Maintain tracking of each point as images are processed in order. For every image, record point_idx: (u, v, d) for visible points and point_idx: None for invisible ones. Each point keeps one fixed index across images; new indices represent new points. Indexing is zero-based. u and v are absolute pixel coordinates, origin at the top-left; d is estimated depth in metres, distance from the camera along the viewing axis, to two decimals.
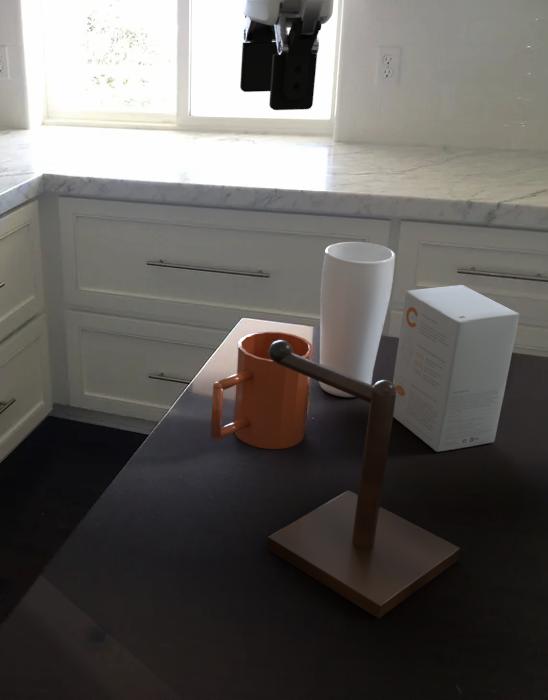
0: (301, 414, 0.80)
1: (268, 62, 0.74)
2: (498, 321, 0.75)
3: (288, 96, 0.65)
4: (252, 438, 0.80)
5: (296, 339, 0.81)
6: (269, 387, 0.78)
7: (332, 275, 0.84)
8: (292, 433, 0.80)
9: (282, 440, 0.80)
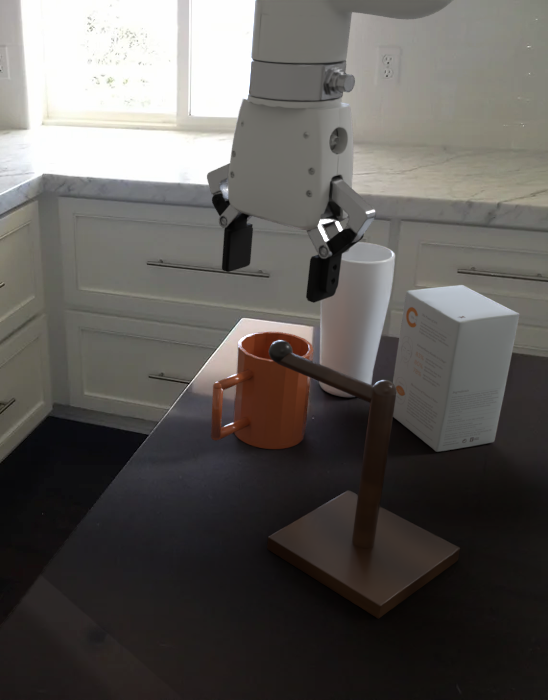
0: (301, 414, 0.80)
1: (245, 243, 0.79)
2: (498, 321, 0.75)
3: (327, 290, 0.72)
4: (252, 438, 0.80)
5: (296, 339, 0.81)
6: (269, 387, 0.78)
7: None
8: (292, 433, 0.80)
9: (282, 440, 0.80)
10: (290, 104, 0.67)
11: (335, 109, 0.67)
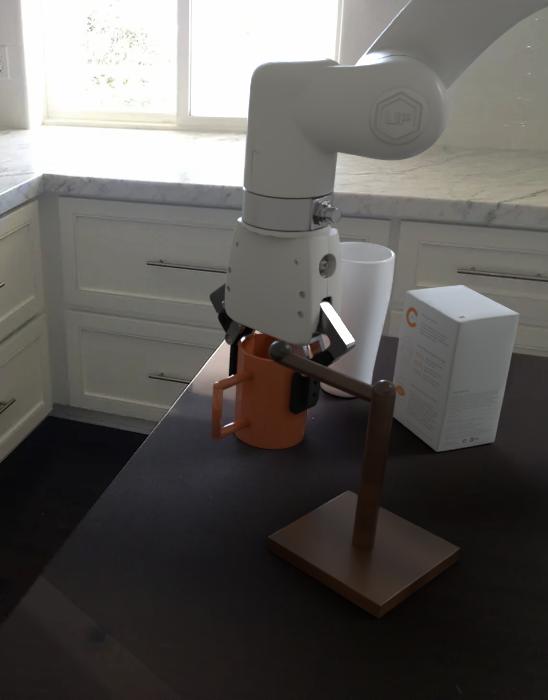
0: (301, 414, 0.80)
1: None
2: (498, 321, 0.75)
3: (309, 404, 0.77)
4: (252, 438, 0.80)
5: None
6: (269, 387, 0.78)
7: None
8: (292, 433, 0.80)
9: (282, 440, 0.80)
10: (281, 234, 0.71)
11: (324, 238, 0.71)
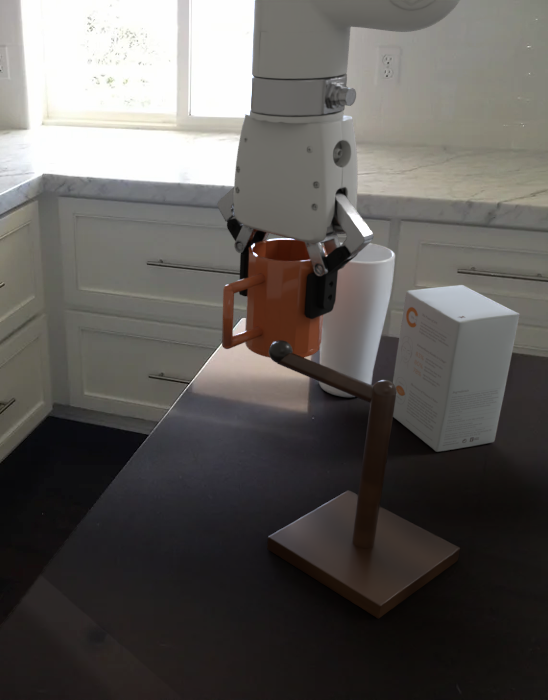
0: (317, 321, 0.76)
1: None
2: (498, 321, 0.75)
3: (325, 307, 0.73)
4: (265, 348, 0.76)
5: None
6: (282, 291, 0.74)
7: None
8: (308, 341, 0.76)
9: (297, 349, 0.76)
10: (292, 119, 0.67)
11: (337, 123, 0.67)
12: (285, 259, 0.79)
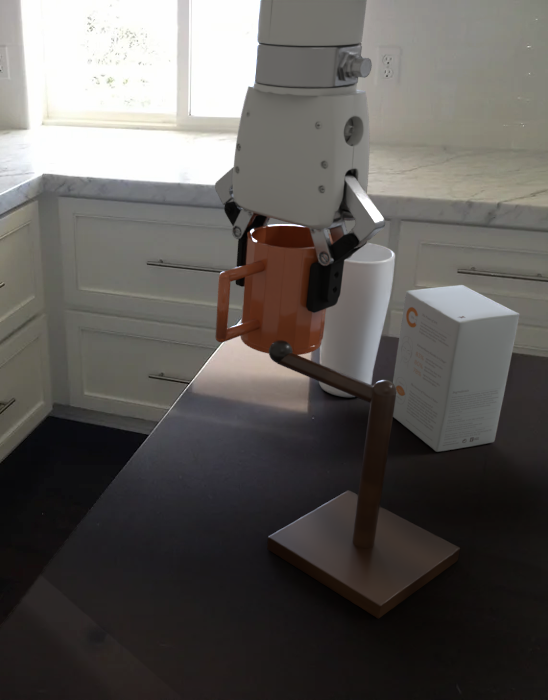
0: (319, 315, 0.69)
1: None
2: (498, 321, 0.75)
3: (329, 300, 0.67)
4: (262, 343, 0.70)
5: None
6: (283, 280, 0.67)
7: None
8: (308, 337, 0.70)
9: (297, 345, 0.70)
10: (300, 91, 0.61)
11: (350, 96, 0.61)
12: (286, 247, 0.73)
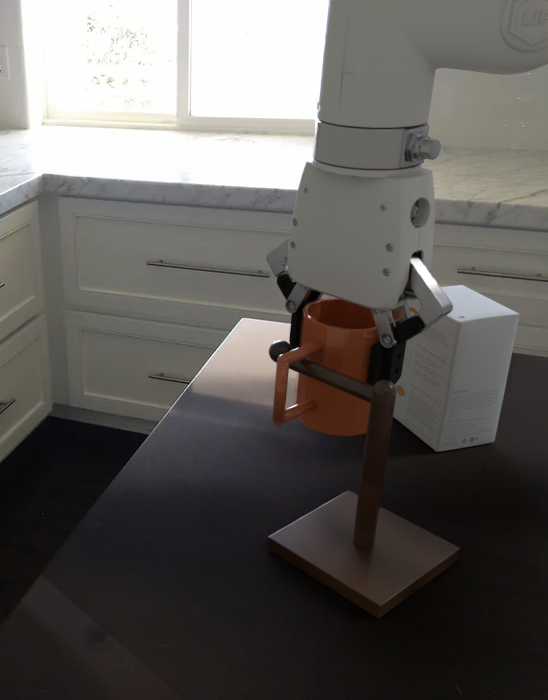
0: None
1: None
2: (498, 321, 0.75)
3: (390, 381, 0.65)
4: (319, 423, 0.68)
5: None
6: (342, 361, 0.65)
7: None
8: (367, 417, 0.67)
9: (355, 425, 0.67)
10: (366, 173, 0.59)
11: (417, 178, 0.59)
12: (341, 321, 0.70)
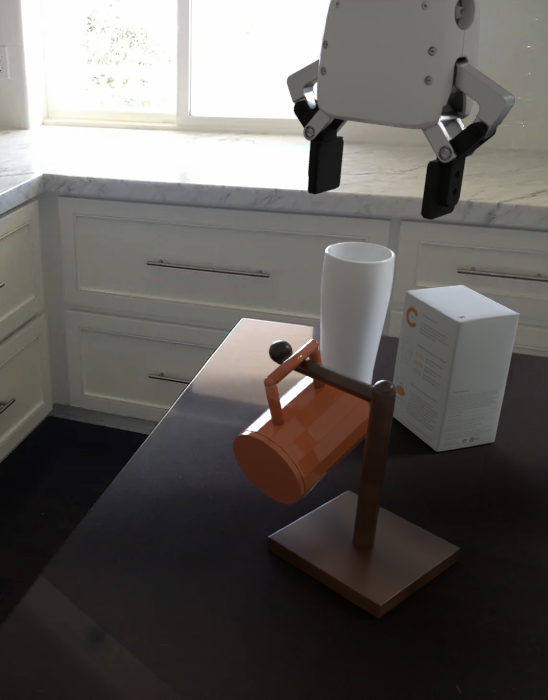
0: (327, 466, 0.66)
1: (334, 159, 0.66)
2: (498, 321, 0.75)
3: (448, 204, 0.59)
4: (274, 438, 0.65)
5: None
6: (334, 405, 0.66)
7: (332, 275, 0.84)
8: (311, 470, 0.65)
9: (301, 464, 0.64)
10: None
11: None
12: None
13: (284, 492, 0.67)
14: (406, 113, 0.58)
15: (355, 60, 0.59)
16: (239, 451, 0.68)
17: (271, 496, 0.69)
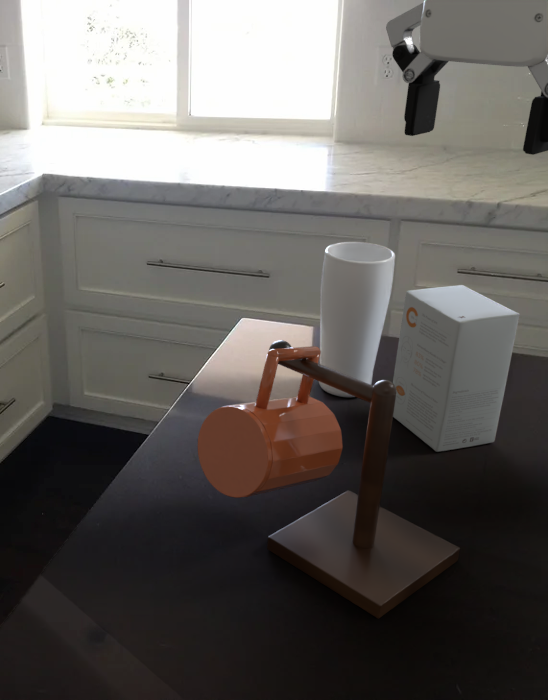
0: (292, 469, 0.63)
1: (431, 102, 0.69)
2: (498, 321, 0.75)
3: None
4: (256, 413, 0.62)
5: None
6: (314, 418, 0.65)
7: (332, 275, 0.84)
8: (281, 459, 0.62)
9: (275, 446, 0.61)
10: None
11: None
12: None
13: (242, 480, 0.62)
14: (513, 50, 0.61)
15: (463, 1, 0.62)
16: (207, 431, 0.65)
17: (222, 489, 0.64)
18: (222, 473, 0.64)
